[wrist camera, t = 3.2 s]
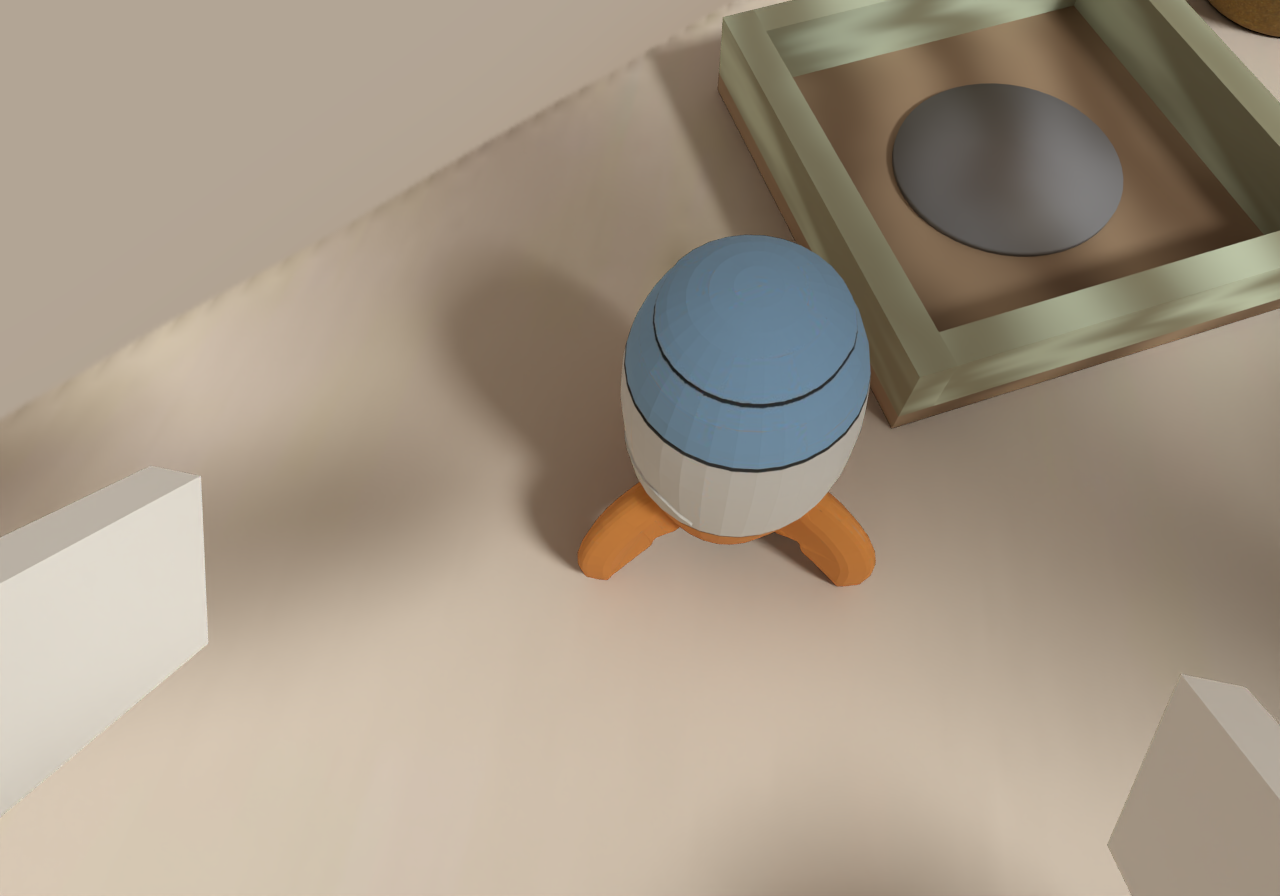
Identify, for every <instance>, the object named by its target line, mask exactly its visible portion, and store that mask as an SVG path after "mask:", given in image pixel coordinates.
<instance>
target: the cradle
mask: <svg viewBox="0 0 1280 896" xmlns="http://www.w3.org/2000/svg"><path fill="white" fill-rule="evenodd" d="M718 91H719V93H720V95H721V97H722V99H723V101H724V103H725V105H726V107H727V109H728V110H729V112H730V114H731V116H732V118H733V120H734V122H735V124H736V126H737V128H738V130H739V132H740V134H741V136H742V138H743V140H744V142H745V144H746V146H747V147H748V149H749V151H750V153H751V155H752V157H753V159H754V161H755V163H756V165H757V167H758V169H759V171H760V173H761V175H762V177H763V179H764V181H765V183H766V184H767V186H768V188H769V190H770V192H771V194H772V196H773V198H774V200H775V202H776V204H777V206H778V208H779V210H780V212H781V214H782V216H783V218H784V220H785V222H786V223H787V225H788V227H789V229H790V231H791V233H792V235H793V237H794V239H795V241H796V243H797V244H798V245H801V246H803V247H805V248H807V249H808V250H810V251H812V252H814V253H816V254H817V255H819V256H820V257H821V258H822V259H824V260H825V261H826V262H827V263H829V264H830V265H831V266H832V267H833V268H834V269H835V270H836V272H837V273H838V274H839V275H840V276H841V278H842V279H843V280H844V282H845V283H846V285H847V287H848V289H849V291H850V293H851V294H852V297H853V300H854V302H855V304H856V305H857V307H858V309H859V312H860V315H861V318H862V322H863V325H864V328H865V332H866V335H867V339H868V342H869V355H870V372H871V379H870V387H871V389H872V391H873V393H874V395H875V397H876V399H877V401H878V403H879V405H880V407H881V409H882V410H883V412H884V414H885V416H886V418H887V420H888V422H889V424H890V426H891V428H895V427H898V426H902V425H905V424H908V423H911V422H914V421H918V420H921V419H924V418H927V417H931V416H934V415H937V414H940V413H943V412H947V411H950V410H953V409H956V408H960V407H963V406H966V405H969V404H972V403H976V402H979V401H982V400H985V399H988V398H992V397H995V396H998V395H1001V394H1005V393H1008V392H1011V391H1014V390H1017V389H1021V388H1024V387H1027V386H1030V385H1034V384H1037V383H1040V382H1043V381H1046V380H1050V379H1053V378H1056V377H1059V376H1063V375H1066V374H1069V373H1072V372H1075V371H1079V370H1082V369H1085V368H1088V367H1092V366H1095V365H1098V364H1101V363H1104V362H1108V361H1111V360H1114V359H1117V358H1120V357H1124V356H1127V355H1130V354H1133V353H1137V352H1140V351H1143V350H1146V349H1149V348H1153V347H1156V346H1159V345H1162V344H1166V343H1169V342H1172V341H1175V340H1178V339H1182V338H1185V337H1188V336H1191V335H1195V334H1198V333H1201V332H1204V331H1207V330H1211V329H1214V328H1217V327H1220V326H1224V325H1227V324H1230V323H1233V322H1236V321H1240V320H1243V319H1246V318H1249V317H1252V316H1256V315H1259V314H1262V313H1265V312H1269V311H1272V310H1275V309H1278V308H1280V103H1279V102H1278V101H1277V100H1276V98H1275V97H1274V96H1273V95H1272V94H1271V93H1270V92H1269V91H1268V90H1267V89H1266V88H1265V86H1264V85H1263V84H1262V83H1261V82H1260V81H1259V80H1258V79H1257V78H1256V77H1255V76H1254V75H1253V73H1252V72H1251V71H1250V70H1249V69H1248V68H1247V67H1246V66H1245V65H1244V64H1243V63H1242V62H1241V60H1240V59H1239V58H1238V57H1237V56H1236V55H1235V54H1234V53H1233V52H1232V51H1231V50H1230V49H1229V47H1228V46H1227V45H1226V44H1225V43H1224V42H1223V41H1222V40H1221V39H1220V38H1219V37H1218V35H1217V34H1216V33H1215V32H1214V31H1213V30H1212V29H1211V28H1210V27H1209V26H1208V25H1207V24H1206V22H1205V21H1204V20H1203V19H1202V18H1201V17H1200V16H1199V15H1198V14H1197V13H1196V12H1195V11H1194V9H1193V8H1192V7H1191V6H1190V5H1189V4H1188V3H1187V2H1186V1H1185V0H792V1H787V2H783V3H779V4H775V5H771V6H767V7H763V8H759V9H755V10H751V11H746V12H742V13H738V14H734V15H730V16H726V17H723V23H722V37H721V50H720V64H719V78H718Z"/></svg>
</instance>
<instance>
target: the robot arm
mask: <svg viewBox="0 0 1280 896" xmlns="http://www.w3.org/2000/svg"><path fill="white" fill-rule="evenodd" d="M207 644H208V624H207V601H206V579H205V556H204V533H203V511H202V488H201V476H200V475H195V474H190V473H185V472H180V471H175V470H170V469H165V468H160V467H155V466H149V467H147V468H145V469H143V470H140V471H138V472H136V473H134V474H132V475H130V476H128V477H126V478H124V479H122V480H119V481H117V482H115V483H113V484H111V485H109V486H107V487H105V488H103V489H101V490H99V491H96V492H94V493H92V494H90V495H88V496H86V497H84V498H82V499H80V500H78V501H75V502H73V503H71V504H69V505H67V506H65V507H63V508H61V509H59V510H57V511H55V512H52V513H50V514H48V515H46V516H44V517H42V518H40V519H38V520H36V521H34V522H32V523H29V524H27V525H25V526H23V527H21V528H19V529H17V530H15V531H13V532H11V533H8V534H6V535H4V536H2V537H0V817H1V816H3V815H4V814H5V813H6V812H7V811H9V810H10V809H11V808H12V807H13V806H14V805H16V804H17V803H18V802H19V801H20V800H22V799H23V798H24V797H25V796H26V795H28V794H29V793H30V792H31V791H32V790H34V789H35V788H36V787H37V786H38V785H40V784H41V783H42V782H43V781H44V780H46V779H47V778H48V777H49V776H50V775H52V774H53V773H54V772H55V771H56V770H58V769H59V768H60V767H61V766H62V765H64V764H65V763H66V762H67V761H68V760H69V759H71V758H72V757H73V756H74V755H75V754H77V753H78V752H79V751H80V750H81V749H83V748H84V747H85V746H86V745H87V744H89V743H90V742H91V741H92V740H93V739H95V738H96V737H97V736H98V735H99V734H101V733H102V732H103V731H104V730H105V729H107V728H108V727H109V726H110V725H111V724H113V723H114V722H115V721H116V720H117V719H118V718H120V717H121V716H122V715H123V714H124V713H126V712H127V711H128V710H129V709H130V708H132V707H133V706H134V705H135V704H136V703H138V702H139V701H140V700H141V699H142V698H144V697H145V696H146V695H147V694H148V693H150V692H151V691H152V690H153V689H154V688H156V687H157V686H158V685H159V684H160V683H162V682H163V681H164V680H165V679H166V678H168V677H169V676H170V675H171V674H172V673H173V672H175V671H176V670H177V669H178V668H179V667H181V666H182V665H183V664H184V663H185V662H187V661H188V660H189V659H190V658H191V657H193V656H194V655H195V654H196V653H197V652H199V651H200V650H201V649H202V648H203V647H205V646H206V645H207ZM1107 845H1108V848H1109V850H1110V852H1111V854H1112V856H1113V858H1114V860H1115V862H1116V864H1117V866H1118V868H1119V870H1120V873H1121V875H1122V877H1123V879H1124V881H1125V883H1126V885H1127V887H1128V889H1129V891H1130V893H1131V895H1132V896H1280V725H1279V724H1278V722H1277V721H1276V720H1275V719H1274V718H1273V717H1272V716H1271V715H1270V714H1269V712H1268V711H1267V710H1266V709H1265V708H1264V707H1263V706H1262V705H1261V703H1260V702H1259V701H1258V700H1257V699H1256V698H1255V697H1254V696H1253V694H1252V693H1251V692H1250V691H1249V690H1248V689H1247V688H1246V687H1244V686H1239V685H1234V684H1229V683H1224V682H1219V681H1214V680H1209V679H1204V678H1199V677H1194V676H1189V675H1184V674H1180V676H1179V679H1178V681H1177V683H1176V686H1175V688H1174V690H1173V693H1172V695H1171V697H1170V700H1169V702H1168V704H1167V707H1166V709H1165V711H1164V714H1163V716H1162V718H1161V721H1160V723H1159V725H1158V728H1157V730H1156V732H1155V735H1154V737H1153V739H1152V742H1151V744H1150V746H1149V749H1148V751H1147V753H1146V756H1145V758H1144V760H1143V763H1142V765H1141V767H1140V770H1139V772H1138V774H1137V777H1136V779H1135V781H1134V784H1133V786H1132V788H1131V791H1130V793H1129V795H1128V798H1127V800H1126V802H1125V805H1124V807H1123V809H1122V812H1121V814H1120V816H1119V819H1118V821H1117V823H1116V826H1115V828H1114V830H1113V833H1112V835H1111V837H1110V840H1109V842H1108V844H1107Z"/></svg>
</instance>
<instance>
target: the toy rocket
mask: <svg viewBox="0 0 1280 896" xmlns="http://www.w3.org/2000/svg"><path fill="white" fill-rule="evenodd" d="M870 379H871V372H870V355H869V342H868V339H867V335H866V332H865V328H864V325H863V322H862V318H861V315H860V312H859V309H858V307H857V305H856V304H855V302H854V300H853V297H852V294H851V293H850V291H849V289H848V287H847V285H846V283H845V282H844V280H843V279H842V278H841V276H840V275H839V274H838V273H837V272H836V270H835V269H834V268H833V267H832V266H831V265H830V264H829V263H827V262H826V261H825V260H824V259H822V258H821V257H820V256H819V255H817V254H816V253H814V252H812V251H810V250H808V249H807V248H805V247H803V246H801V245H798V244H796V243H793V242H790V241H787V240H785V239H780V238H775V237H770V236H765V235H740V236H731V237H725V238H722V239H718V240H715V241H711V242H708V243H706V244H704V245H702V246H700V247H698V248H696V249H694V250H692V251H691V252H689V253H688V254H687V255H685V256H684V257H683V258H681V259H680V260H679V261H678V262H677V263H676V265H675V266H674V267H673V268H671V269H670V270H669V271H668V272H667V273H666V274H665V275H664V276H663V277H662V279H661V280H660V281H659V282H658V283H657V284H656V285H655V287H654V288H653V289H652V291H651V292H650V293H649V295H648V296H647V298H646V300H645V301H644V303H643V305H642V306H641V308H640V310H639V311H638V313H637V315H636V317H635V320H634V322H633V325H632V327H631V330H630V333H629V336H628V340H627V343H626V346H625V351H624V356H623V365H622V376H621V405H622V413H623V419H624V425H625V443H626V447H627V450H628V453H629V456H630V459H631V462H632V465H633V467H634V470H635V473H636V476H637V478H638V479H639V481H640V482H638V483H637V484H636V485H635V486H633V487H632V488H631V489H629V490H628V491H627V492H625V493H624V494H623V495H622V496H620V497H619V498H618V499H617V500H616V501H615V502H613V503H612V504H611V505H610V506H609V507H608V508H607V509H606V510H605V511H604V512H603V513H602V514H601V515H600V516H599V517H598V519H597V520H596V521H595V523H594V524H593V526H592V527H591V528H590V530H589V531H588V533H587V534H586V536H585V537H584V539H583V540H582V543H581V545H580V548H579V550H578V564H579V566H580V568H581V570H582V571H583V573H584V574H585V575H586V576H587V577H591V578H595V579H602V580H608V579H609V578H610V577H611V576H612V575H613V574H614V573H616V572H617V571H618V570H619V569H621V568H622V567H623V566H625V565H626V564H627V563H628V562H630V561H631V560H632V559H634V558H635V557H636V556H637V555H639V554H640V553H641V552H643V551H644V550H646V549H647V548H648V547H649V546H650V545H651V544H652V542H653V540H654V539H655V538H657V537H659V536H661V535H664V534H666V533H670V532H673V531H675V530H676V529H678V528H679V527H681V528H682V529H684V530H685V531H687V532H688V533H689V534H691V535H693V536H695V537H697V538H699V539H702V540H704V541H708V542H712V543H716V544H739V543H745V542H748V541H751V540H754V539H757V538H760V537H762V536H765V535H768V534H771V533H773V532H775V533H777V534H780V535H782V536H786V537H788V538H790V539H793V540H795V541H797V542H798V543H799V544H800V550H801V551H802V553H804V554H805V555H806V556H807V557H808V558H809V559H810V560H811V561H813V563H814V564H815V565H816V566H817V567H818V568H819V569H820V570H821V571H822V572H823V573H824V574H825V575H826V576H827V577H828V578H829V579H830V580H831V581H832V582H833V583H834V584H835V585H836V586H850V585H858V584H860V583H862V582H863V581H864V580H865V579H867V578H868V577H869V576H870V575H871V573H872V571H873V569H874V566H875V561H876V560H875V551H874V549H873V546H872V544H871V542H870V539H869V537H868V535H867V534H866V533H865V531H864V530H863V528H862V527H861V526H860V524H859V523H858V522H857V520H856V519H855V518H854V517H853V516H852V514H851V513H850V512H849V511H848V510H847V509H846V508H845V507H844V506H843V505H842V504H841V503H840V502H839V501H838V500H837V499H836V498H835V497H834V496H833V495H831V494H830V493H829V492H828V491H829V490H830V488H831V487H832V486H833V484H834V483H835V482H836V480H837V479H838V478H839V476H840V475H841V473H842V471H843V469H844V467H845V465H846V464H847V462H848V459H849V457H850V455H851V452H852V450H853V448H854V445H855V443H856V441H857V438H858V436H859V433H860V431H861V428H862V424H863V420H864V415H865V411H866V405H867V400H868V394H869V388H870Z"/></svg>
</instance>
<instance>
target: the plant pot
mask: <svg viewBox="0 0 1280 896" xmlns="http://www.w3.org/2000/svg"><path fill="white" fill-rule="evenodd" d="M1208 1H1209V2H1210V3H1211V4H1212V5H1213V6H1214V7H1215V8H1216V9H1217V10H1218V11H1219V12H1220V13H1222V14H1223V15H1224V16H1226V17H1227V18H1229V19H1231V20H1232V21H1234V22H1236V23H1237V24H1239V25H1241V26H1243V27H1246V28H1248V29H1250V30H1253V31H1256V32H1259V33H1263V34H1267V35H1271V36H1277V37H1280V0H1208Z"/></svg>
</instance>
